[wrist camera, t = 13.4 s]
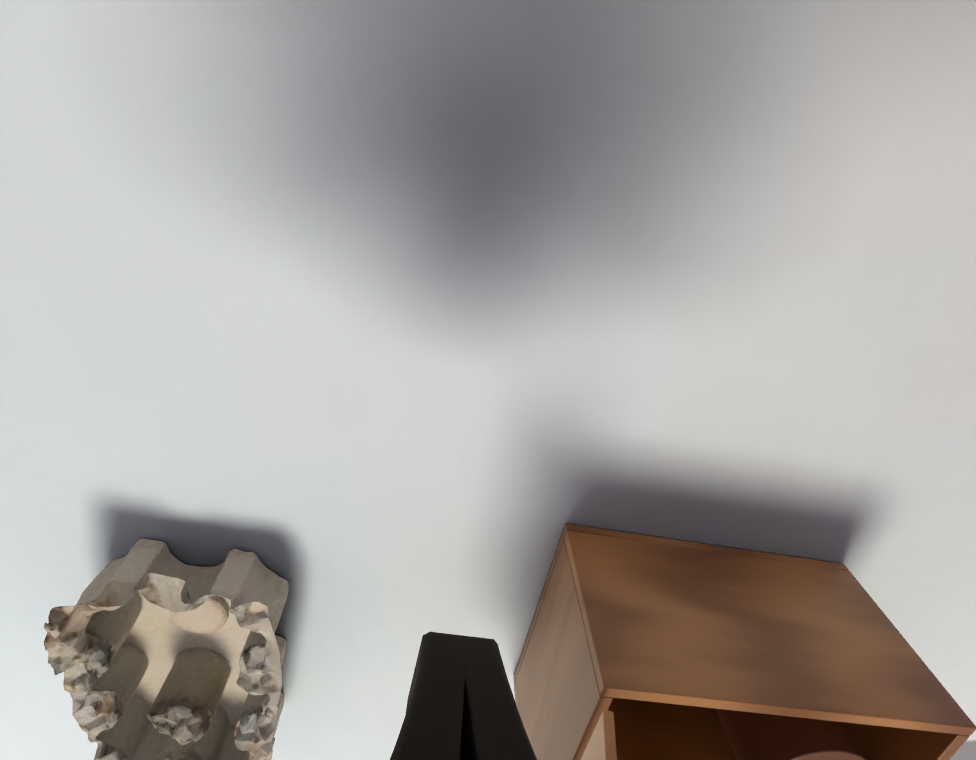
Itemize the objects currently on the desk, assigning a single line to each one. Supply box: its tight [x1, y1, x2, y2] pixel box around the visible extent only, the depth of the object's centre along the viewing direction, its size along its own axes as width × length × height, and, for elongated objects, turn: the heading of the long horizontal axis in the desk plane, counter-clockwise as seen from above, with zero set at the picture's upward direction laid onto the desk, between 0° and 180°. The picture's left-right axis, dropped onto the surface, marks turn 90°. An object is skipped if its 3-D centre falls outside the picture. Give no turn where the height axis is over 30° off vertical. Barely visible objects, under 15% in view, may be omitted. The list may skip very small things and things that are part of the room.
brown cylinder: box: [716, 709, 868, 760], centre depth 22 cm, size 4×4×6 cm
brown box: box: [514, 524, 976, 760], centre depth 22 cm, size 12×9×7 cm
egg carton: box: [44, 539, 289, 760], centre depth 22 cm, size 11×8×4 cm
